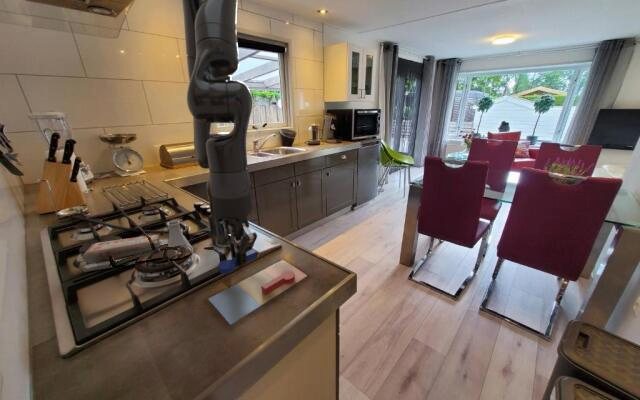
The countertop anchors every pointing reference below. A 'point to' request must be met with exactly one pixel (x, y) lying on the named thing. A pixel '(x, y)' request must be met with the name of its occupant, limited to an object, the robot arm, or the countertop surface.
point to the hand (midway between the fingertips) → (239, 262)
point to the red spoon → (278, 282)
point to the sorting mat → (252, 292)
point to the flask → (176, 235)
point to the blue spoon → (230, 265)
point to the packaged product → (118, 251)
